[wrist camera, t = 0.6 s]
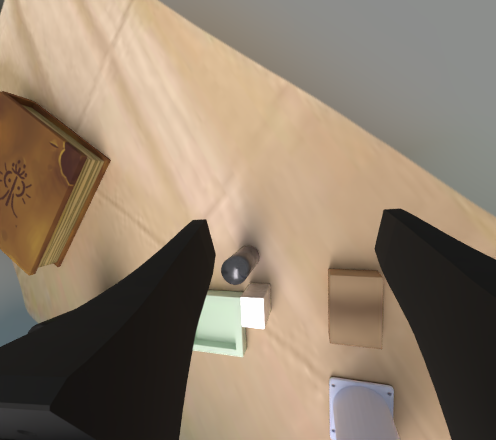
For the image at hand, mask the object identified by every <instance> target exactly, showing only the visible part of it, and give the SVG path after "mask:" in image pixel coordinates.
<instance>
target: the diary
mask: <svg viewBox="0 0 496 440" xmlns="http://www.w3.org/2000/svg"><path fill="white" fill-rule="evenodd" d="M110 161H111V160H110V159H108V158H107V157H106V156H105V155H103V154H102V153H101V152H99V151H98V150H97V149H95V148H94V147H93V146H92V145H90V144H89V143H88V142H86V141H85V140H84V139H82V138H81V137H80V136H79V135H77V134H76V133H75V132H73V131H72V130H71V129H69V128H68V127H67V126H66V125H64V124H63V123H62V122H60V121H59V120H58V119H56V118H55V117H54V116H53V115H51V114H50V113H49V112H47V111H46V110H45V109H43V108H42V107H41V106H40V105H38V104H37V103H36V102H34V101H32V100H29V99H26V98H23V97H20V96H17V95H14V94H11V93H8V92H4V91H2V92H0V249H1V250H2V251H3V252H4V253H5V254H6V255H7V256H8V257H9V258H10V259H12V260H13V261H14V262H15V263H16V264H17V265H18V266H19V267H20V268H21V269H22V270H23V271H25V272H26V273H27V274H28V275H33V274H35V273H36V271H37V268H38V267H42V266H45V265H49V264H52V263H54V264H55V265H56V266H57V267H60V266H61V263H62V261H63V259H64V257H65V255H66V253H67V251H68V249H69V247H70V245H71V243H72V240H73V238H74V236H75V234H76V232H77V230H78V228H79V226H80V224H81V222H82V219H83V217H84V215H85V213H86V211H87V209H88V207H89V205H90V203H91V201H92V198H93V196H94V194H95V192H96V190H97V188H98V186H99V184H100V182H101V180H102V178H103V175H104V173H105V171H106V169H107V167H108V165H109V163H110Z"/></svg>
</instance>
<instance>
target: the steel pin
mask: <svg viewBox="0 0 496 440" xmlns="http://www.w3.org/2000/svg"><path fill="white" fill-rule="evenodd" d="M259 257H260V256H259V252H258V250H257V249H256V248H255V247H253V246H249V245H247V246H244V247H242V248H241V249H240V250H238V251H237V252H236V253H235V254H233V255H232V256H231V257H230V258H228V259H227V260H226V261H225V262H224V263H223V265H222V268H221V273H222V276H223V278H224V279H225V280H226V281H227V282H228V283H230V284H233V285H237V284H241V283H242V282H243V281H244V280H245V279H246V278H247V276H248V275H249V274H250V272H251V271H252V270H253V268H254V267H255V266H256V264H257V263H258V261H259Z"/></svg>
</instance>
